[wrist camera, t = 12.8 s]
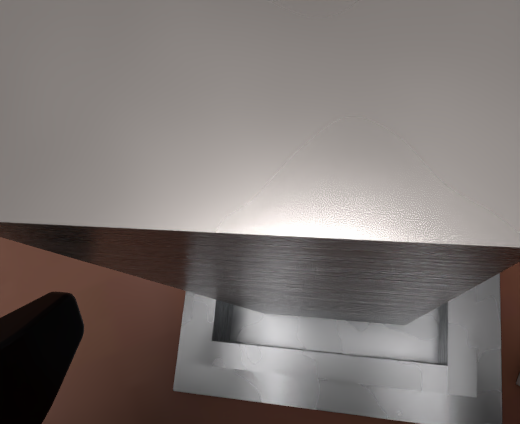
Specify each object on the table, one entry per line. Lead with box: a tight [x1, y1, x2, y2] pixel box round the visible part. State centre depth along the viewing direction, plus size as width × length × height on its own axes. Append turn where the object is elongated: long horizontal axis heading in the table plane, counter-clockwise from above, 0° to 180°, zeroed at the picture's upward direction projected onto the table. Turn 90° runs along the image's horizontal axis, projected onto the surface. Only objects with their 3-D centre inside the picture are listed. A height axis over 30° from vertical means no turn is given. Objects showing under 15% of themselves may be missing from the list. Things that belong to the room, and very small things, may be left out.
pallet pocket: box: [173, 273, 502, 424], centre depth 16 cm, size 10×10×2 cm
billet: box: [0, 0, 520, 325], centre depth 10 cm, size 4×4×13 cm
